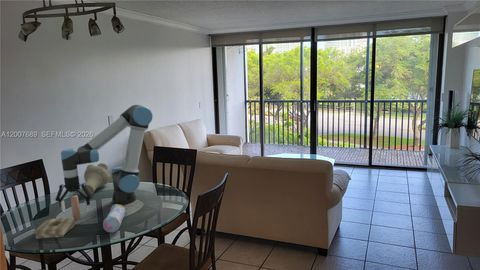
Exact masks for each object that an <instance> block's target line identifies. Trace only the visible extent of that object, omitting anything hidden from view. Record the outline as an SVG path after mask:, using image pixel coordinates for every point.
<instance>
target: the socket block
mask: <svg viewBox="0 0 480 270" xmlns="http://www.w3.org/2000/svg"><path fill="white" fill-rule="evenodd" d="M74 226H76V223H75V221H74V218H73V217H62V218H61V217H59V218H49V219H46V220H45V221H44V222H43V223H42V224H41V225H39V226H38V227H37V228H36V229H35V230H34V234H35V238H36V239H47V238H49V239H51V238H63V237H65V236H66V235H67V234H68V233H69V232H70V231H71V230H72V229H73V228H74ZM70 229H71V230H70ZM69 230H70V231H69ZM68 231H69V232H68ZM67 232H68V233H67ZM66 233H67V234H66ZM65 234H66V235H65ZM64 235H65V236H64Z"/></svg>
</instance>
